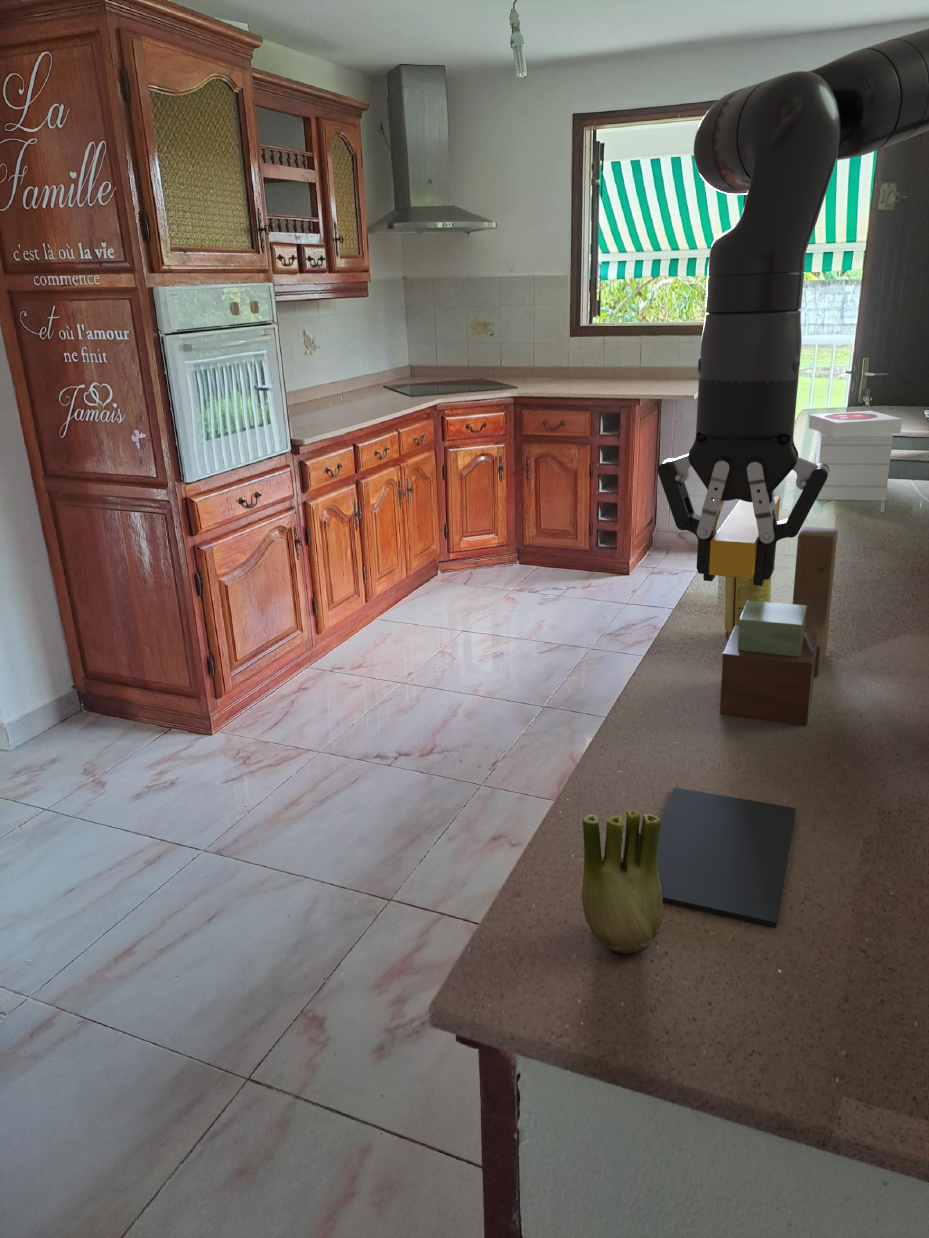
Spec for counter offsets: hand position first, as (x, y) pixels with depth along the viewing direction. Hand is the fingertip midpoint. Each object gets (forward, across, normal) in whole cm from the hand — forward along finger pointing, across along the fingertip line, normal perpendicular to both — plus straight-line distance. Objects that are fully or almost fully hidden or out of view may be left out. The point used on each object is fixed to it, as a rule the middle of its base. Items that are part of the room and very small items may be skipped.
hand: (733, 579), depth 75 cm
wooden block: (+25, -4, -45) cm, 52 cm away
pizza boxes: (+24, -4, -157) cm, 159 cm away
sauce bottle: (+26, +5, -52) cm, 58 cm away
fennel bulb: (+26, +4, +17) cm, 32 cm away
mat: (+26, -1, +2) cm, 26 cm away
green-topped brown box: (+25, -1, -31) cm, 40 cm away
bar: (-1, 0, -6) cm, 7 cm away
